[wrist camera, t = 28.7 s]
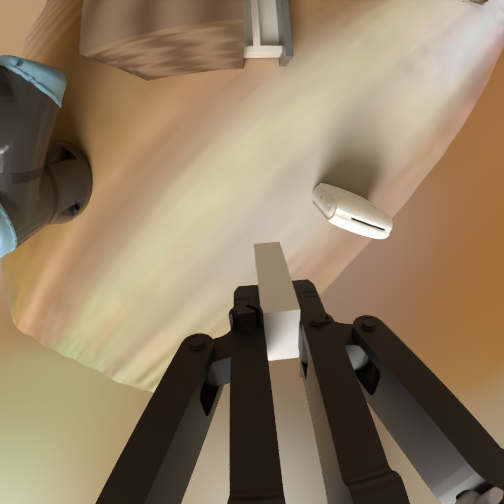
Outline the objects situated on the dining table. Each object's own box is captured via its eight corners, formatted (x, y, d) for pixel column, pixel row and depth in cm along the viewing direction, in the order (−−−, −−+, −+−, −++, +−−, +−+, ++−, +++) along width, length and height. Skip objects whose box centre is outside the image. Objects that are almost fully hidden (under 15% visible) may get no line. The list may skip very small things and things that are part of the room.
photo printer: (307, 202, 46) (328, 228, 35) (316, 178, 44) (340, 197, 33) (359, 220, 48) (390, 248, 37) (368, 198, 46) (402, 221, 35)
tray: (157, 77, 36) (143, 70, 30) (157, -15, 28) (146, -31, 22) (285, 66, 36) (293, 56, 30) (277, -26, 28) (282, -45, 22)
